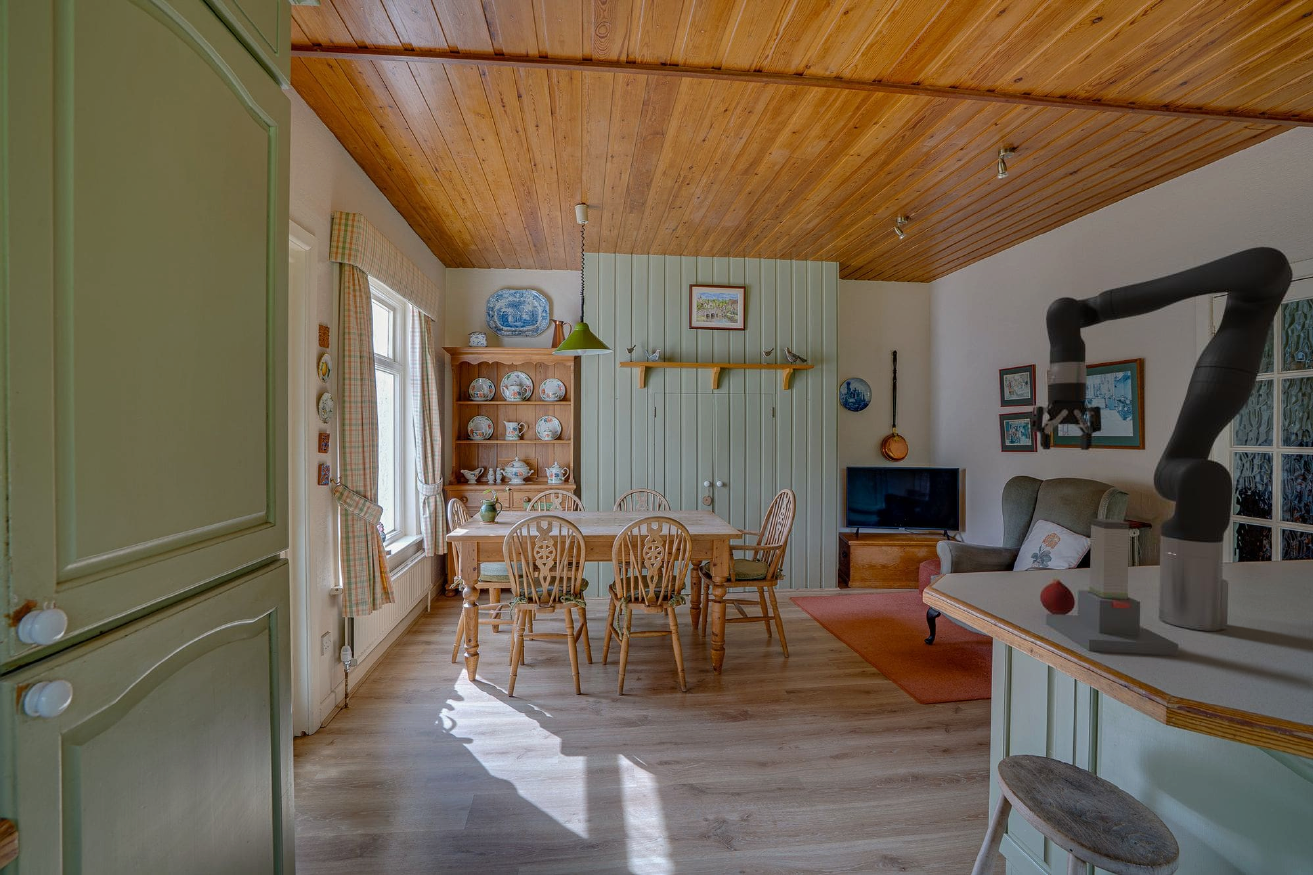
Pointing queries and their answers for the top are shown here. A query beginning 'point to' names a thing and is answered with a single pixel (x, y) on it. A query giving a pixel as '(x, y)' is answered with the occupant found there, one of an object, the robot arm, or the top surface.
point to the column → (1109, 559)
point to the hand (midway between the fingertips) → (1065, 449)
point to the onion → (1057, 598)
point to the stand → (1110, 627)
